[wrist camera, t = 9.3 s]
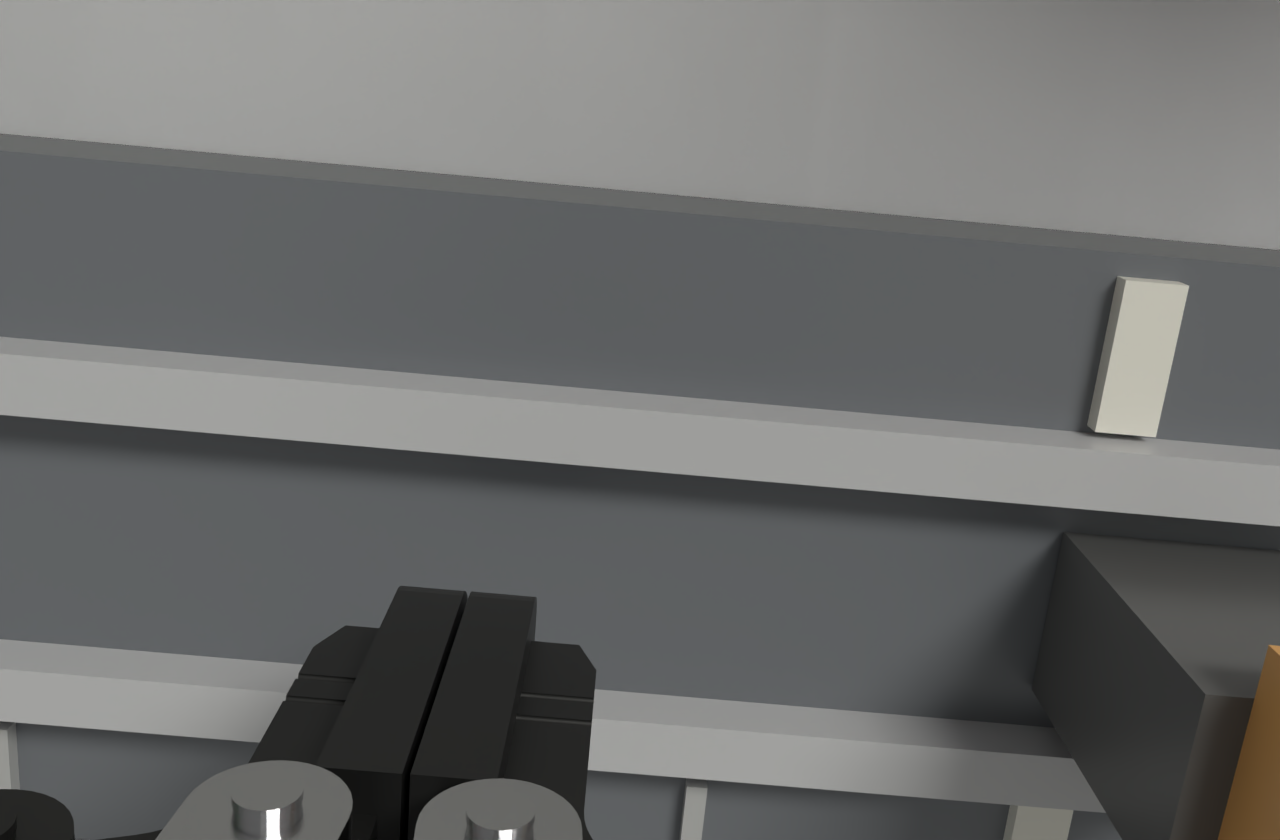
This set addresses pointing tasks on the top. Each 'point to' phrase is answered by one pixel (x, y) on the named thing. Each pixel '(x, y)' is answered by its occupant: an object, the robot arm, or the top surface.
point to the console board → (594, 473)
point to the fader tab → (1168, 683)
